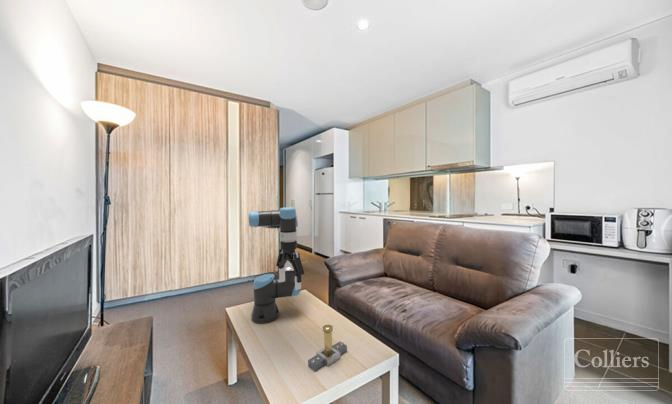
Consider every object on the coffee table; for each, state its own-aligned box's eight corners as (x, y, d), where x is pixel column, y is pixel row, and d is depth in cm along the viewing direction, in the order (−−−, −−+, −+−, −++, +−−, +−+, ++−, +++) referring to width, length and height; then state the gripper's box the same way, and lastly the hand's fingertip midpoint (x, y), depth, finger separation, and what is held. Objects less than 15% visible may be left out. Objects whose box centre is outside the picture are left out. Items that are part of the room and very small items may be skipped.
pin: (321, 358, 108) (320, 327, 107) (328, 353, 111) (328, 323, 110) (328, 363, 105) (327, 331, 104) (335, 358, 108) (334, 327, 107)
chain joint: (317, 373, 99) (316, 366, 99) (306, 364, 105) (305, 357, 104) (349, 352, 112) (349, 346, 111) (337, 345, 117) (337, 339, 117)
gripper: (268, 238, 125) (269, 280, 127) (297, 246, 107) (298, 295, 108) (281, 236, 131) (282, 276, 132) (311, 243, 112) (312, 290, 113)
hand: (290, 285), depth 120 cm, fingers open, 13 cm apart
